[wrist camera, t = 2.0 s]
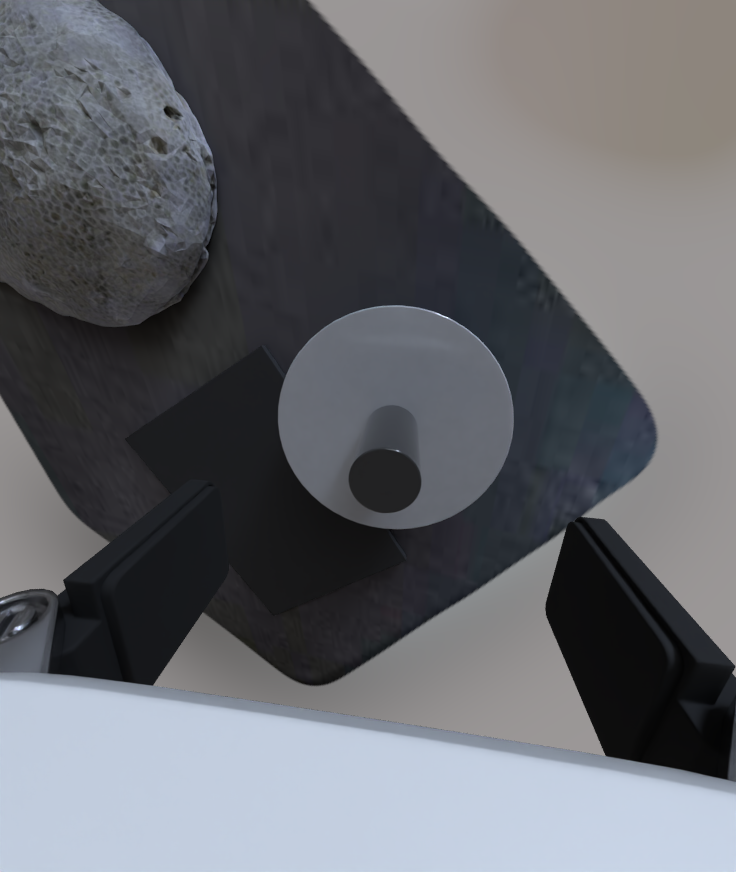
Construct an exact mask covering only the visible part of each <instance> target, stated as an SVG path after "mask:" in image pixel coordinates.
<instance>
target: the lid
mask: <svg viewBox="0 0 736 872" xmlns="http://www.w3.org/2000/svg"><path fill="white" fill-rule="evenodd" d="M278 426H279V435H280V439H281V443H282V447H283V450H284V453H285V455H286V458H287V461H288V463H289V465H290V466H291V468H292V470H293V472H294V474H295V475H296V477H297V478H298V479H299V481H300V482H301V484H302V485H303V486H304V487H305V488H306V489H307V490H308V491H309V493H310V494H311V495H312V496H313V497H315V498H316V499H317V500H318V501H319V502H320V503H322V504H323V505H324V506H326V507H327V508H329V509H330V510H332V511H333V512H335V513H337V514H339V515H341V516H343V517H344V518H347V519H349V520H352V521H354V522H357V523H360V524H364V525H367V526H371V527H377V528H384V529H409V528H417V527H422V526H427V525H430V524H434V523H437V522H440V521H442V520H445V519H447V518H449V517H452V516H453V515H455V514H457V513H459V512H460V511H462V510H464V509H465V508H467V507H468V506H469V505H470V504H472V503H473V502H474V501H476V500H477V499H478V498H479V497H480V496H481V495H482V494H483V493H484V492H485V491H486V490H487V489H488V487H489V486H490V485H491V483H492V482H493V481H494V480H495V478H496V476H497V475H498V473H499V471H500V470H501V468H502V466H503V464H504V461H505V459H506V457H507V454H508V451H509V448H510V444H511V440H512V434H513V426H514V412H513V403H512V397H511V392H510V389H509V386H508V383H507V380H506V377H505V375H504V373H503V371H502V369H501V367H500V365H499V363H498V362H497V360H496V359H495V357H494V356H493V354H492V353H491V352H490V350H489V349H488V348H487V347H486V346H485V345H484V344H483V343H482V341H481V340H480V339H479V338H478V337H476V336H475V335H474V334H473V333H471V332H470V331H469V330H468V329H467V328H465V327H464V326H462V325H460V324H459V323H457V322H455V321H454V320H452V319H450V318H448V317H446V316H443V315H441V314H438V313H436V312H433V311H430V310H426V309H422V308H418V307H410V306H402V305H394V306H379V307H373V308H367V309H363V310H360V311H357V312H354V313H351V314H348V315H346V316H344V317H342V318H340V319H338V320H335V321H334V322H332V323H331V324H329V325H328V326H326V327H325V328H323V329H322V330H320V331H319V332H318V333H317V334H316V335H315V336H314V337H312V338H311V339H310V340H309V341H308V342H307V343H306V345H305V346H304V347H303V348H302V349H301V350H300V352H299V353H298V355H297V356H296V358H295V359H294V361H293V362H292V364H291V366H290V368H289V370H288V372H287V374H286V377H285V379H284V382H283V386H282V389H281V392H280V398H279V405H278Z"/></svg>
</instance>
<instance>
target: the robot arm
mask: <svg viewBox="0 0 736 872" xmlns="http://www.w3.org/2000/svg"><path fill="white" fill-rule="evenodd" d="M228 569H229V562H228V553H227V544H226V535H225V526H224V517H223V508H222V499H221V491H220V489H219V488H218V487H215V484H214V483H213V482H212V481H204V480H192V479H191V480H189V481H187V482H186V483H185V484H184V485H182V486H181V487H180V488H179V489H177V490H176V491H175V492H174V493H172V494H171V495H170V496H169V497H167V498H166V499H165V500H164V501H162V502H161V503H160V504H158V505H157V506H156V507H155V508H153V509H152V510H151V511H150V512H148V513H147V514H146V515H145V516H143V517H142V518H141V519H140V520H138V521H137V522H136V523H135V524H133V525H132V526H131V527H129V528H128V529H127V530H126V531H124V532H123V533H122V534H121V535H119V536H118V537H117V538H116V539H114V540H113V541H112V542H111V543H109V544H108V545H107V546H106V547H104V548H103V549H102V550H101V551H99V552H98V553H97V554H95V556H93V557H92V558H90V559H89V560H88V561H87V562H85V563H84V564H83V565H82V566H80V567H79V568H78V569H77V570H75V571H74V572H73V573H72V574H70V575H69V576H68V577H67V578H65V579H64V580H63V581H64V584H65V587H66V589H65V590H64V591H63V592H62V593H60V594H59V595H58V596H57V595H56V594H55V593H54V592H53V591H50V590H45V589H30V590H26V591H21V592H16V593H14V594H11V595H8V596H5V597H2V598H0V872H736V677H735V676H734V675H733V674H732V672H733V670H734V668H735V665H734V664H733V663H732V662H731V661H730V660H729V659H728V658H727V656H726V655H725V654H724V653H723V652H722V651H721V650H720V649H719V647H718V646H717V645H716V644H715V643H714V642H713V641H712V640H711V639H710V637H709V636H708V635H707V634H706V633H705V632H704V630H702V628H701V627H700V626H699V625H698V624H697V623H696V621H695V620H694V619H693V618H692V617H691V616H690V615H689V614H688V612H687V611H686V610H685V609H684V608H683V607H682V606H681V605H680V604H679V602H678V601H677V600H676V599H675V598H674V597H673V596H672V594H671V593H670V592H669V591H668V590H667V589H666V588H665V587H664V585H663V584H662V583H661V582H660V581H659V580H658V579H657V578H656V576H655V575H654V574H653V573H652V572H651V571H650V570H649V569H648V567H647V566H646V565H645V564H644V563H643V562H642V561H641V559H639V557H638V556H637V555H636V554H635V553H634V552H633V550H632V549H631V548H630V547H629V546H628V545H627V544H626V543H625V541H624V540H623V539H622V538H621V537H620V536H619V535H618V534H617V533H616V531H615V530H614V529H613V528H612V527H611V526H610V525H609V523H608V522H607V521H605V520H604V519H595V518H585V517H578V518H577V519H576V520H575V522H570V523H569V524H568V526H567V528H566V532H565V536H564V539H563V543H562V547H561V550H560V554H559V557H558V561H557V565H556V568H555V572H554V576H553V579H552V583H551V586H550V590H549V594H548V597H547V601H546V608H545V609H546V616H547V619H548V621H549V624H550V626H551V628H552V631H553V633H554V636H555V638H556V640H557V643H558V645H559V647H560V650H561V652H562V654H563V657H564V659H565V661H566V664H567V666H568V668H569V671H570V673H571V675H572V678H573V680H574V682H575V685H576V687H577V690H578V692H579V694H580V696H581V699H582V701H583V704H584V706H585V708H586V711H587V713H588V715H589V718H590V720H591V722H592V725H593V727H594V729H595V732H596V734H597V736H598V739H599V741H600V744H601V746H602V748H603V751H604V753H605V755H606V756H601V755H595V754H590V753H585V752H579V751H573V750H566V749H560V748H554V747H548V746H542V745H535V744H529V743H522V742H517V741H510V740H504V739H497V738H491V737H485V736H479V735H472V734H467V733H460V732H454V731H448V730H442V729H435V728H428V727H422V726H416V725H410V724H403V723H397V722H390V721H384V720H377V719H370V718H365V717H358V716H352V715H345V714H338V713H332V712H325V711H319V710H312V709H306V708H298V707H292V706H285V705H280V704H272V703H266V702H259V701H253V700H246V699H239V698H233V697H226V696H219V695H212V694H205V693H198V692H192V691H185V690H178V689H172V688H165V687H158V686H153V684H154V683H155V681H156V680H157V679H158V677H159V676H160V674H161V673H162V671H163V670H164V668H165V667H166V665H167V664H168V662H169V661H170V659H171V658H172V656H173V655H174V654H175V652H176V651H177V649H178V647H179V646H180V645H181V643H182V642H183V640H184V639H185V637H186V636H187V634H188V633H189V631H190V630H191V628H192V627H193V626H194V624H195V622H196V621H197V620H198V618H199V617H200V615H201V614H202V612H203V611H204V609H205V608H206V606H207V605H208V604H209V602H210V601H211V599H212V598H213V596H214V595H215V593H216V592H217V590H218V589H219V587H220V586H221V584H222V583H223V581H224V580H225V578H226V576H227V574H228Z"/></svg>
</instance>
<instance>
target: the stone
mask: <svg viewBox="0 0 736 872" xmlns="http://www.w3.org/2000/svg"><path fill="white" fill-rule="evenodd" d="M216 217H217V180H216V174H215V168H214V165H213V156H212V153H211V150H210V147H208V144H207V142H206V140H205V138H204V135H203V133H202V130H201V128H200V126H199V123H198V121H197V119H196V118H195V116H194V115H193V113H192V112H191V110H190V108H189V106H188V104H187V102H186V101H185V99H184V98H183V97H182V96H181V95H180V94H179V93H177V92H176V91H175V89H174V86H173V83H172V80H171V79H170V77H169V75H168V74H167V72H166V70H165V69H164V67H163V65H162V64H161V62H160V60H159V59H158V57H157V56H156V54H155V53H154V51H153V50H152V48H151V47H150V45H149V44H148V42H147V41H146V40H144V39H143V38H142V37H140V36H139V34H138V33H137V31H136V30H135V29H134V28H133V27H132V26H131V25H130V24H128V23H127V22H126V21H124V20H123V19H122V18H121V17H119V16H118V15H116V14H114V13H112V12H110V11H109V10H107V9H106V8H105V7H103V6H102V5H101V4H100V3H99V2H98V1H97V0H0V282H5V283H7V284H9V285H10V286H11V287H13V288H14V289H15V290H16V291H17V292H18V293H20V294H21V295H23V296H24V297H26V298H27V299H29V300H30V301H35V302H39V303H41V304H43V305H45V306H46V307H48V308H50V309H51V310H53V311H55V312H56V313H58V314H60V315H61V316H72V317H75V318H77V319H79V320H83V321H86V322H89V323H93V324H96V325H99V326H106V327H120V326H129V325H137V324H140V323H141V322H143V321H144V320H146V319H147V318H149V317H150V316H152V315H155V314H157V313H159V312H161V311H163V310H164V309H166V308H168V307H169V306H171V305H173V304H175V303H177V302H179V301H181V299H182V297H183V296H184V294H186V293H187V292H188V290H189V287H190V285H191V284H192V283H193V282H194V280H195V279H196V278H197V276H198V275H199V274H200V272H201V271H202V270H203V268H204V267H205V265H206V263H207V261H208V251H207V250H206V248H205V247H206V246H207V245H208V243H209V240H210V238H211V234H212V230H213V228H214V226H215V223H216Z"/></svg>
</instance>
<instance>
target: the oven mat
mask: <svg viewBox="0 0 736 872" xmlns="http://www.w3.org/2000/svg"><path fill="white" fill-rule="evenodd" d="M285 377H286V376H285V374H284V373H283V371H282V370H281V368H280V367H279V365H278V364H277V362H276V361H275V359H274V358H273V356H272V355H271V353H270V352H269V350H268V349H267V347H266V346H265V345H263V346H261V347H259V348H258V349H256V350H255V351H253V352H252V353H250V354H249V355H247V356H246V357H244V358H243V359H241V360H240V361H239V362H237V363H236V364H234V365H233V366H231V367H230V368H228V369H227V370H225V371H224V372H222V373H221V374H220V375H218V376H217V377H215V378H214V379H212V380H211V381H209V382H208V383H206V384H205V385H203V386H202V387H200V388H199V389H198V390H196V391H195V392H193V393H192V394H190V395H189V396H187V397H186V398H184V399H183V400H181V401H180V402H179V403H177V404H176V405H174V406H173V407H171V408H170V409H168V410H167V411H165V412H164V413H162V414H161V415H159V416H158V417H157V418H155V419H154V420H152V421H151V422H149V423H148V424H146V425H145V426H143V427H142V428H140V429H139V430H138V431H136V432H135V433H133V434H132V435H130V436H129V437H127V438H126V439H125V440H126V441H127V442H128V443H129V444H130V446H131V447H132V448H133V449H134V450H135V452H136V453H137V454H138V455H139V456H140V458H141V459H142V460H143V461H144V462H145V464H146V465H147V466H148V467H149V468H150V469H151V471H152V472H153V473H154V474H155V475H156V477H157V478H158V479H159V480H160V481H161V483H162V484H163V485H164V486H165V487H166V488H167V490H168V491H169V492H170V493H171V494H172V493H174V492H175V491H176V490H177V489H179V488H180V487H181V486H182V485H184V484H185V483H186V482H187V481H189V480H191V479H192V480H204V481H212V482H213V483H214V484H215V487H218V488H219V489H220V491H221V499H222V508H223V517H224V526H225V535H226V544H227V553H228V562H229V563H230V565H231V566H232V567H233V568H234V569H235V570H236V572H237V573H238V574H239V575H240V576H241V578H242V579H243V580H244V581H245V582H246V584H247V585H248V586H249V587H250V588H251V589H252V591H253V592H254V593H255V594H256V595H257V597H258V598H259V599H260V600H261V601H262V603H263V604H264V605H265V606H266V607H267V609H268V610H269V611H270V612H271V613H272V614H273V616H274V615H277V614H279V613H282V612H284V611H286V610H289V609H291V608H294V607H296V606H298V605H301V604H303V603H305V602H308V601H310V600H313V599H315V598H317V597H320V596H322V595H325V594H327V593H329V592H332V591H334V590H337V589H339V588H341V587H344V586H346V585H349V584H351V583H353V582H356V581H358V580H361V579H363V578H365V577H368V576H370V575H373V574H375V573H377V572H380V571H382V570H384V569H387V568H389V567H392V566H394V565H396V564H399V563H401V562H404V561H406V554H405V553H404V551H403V550H402V548H401V547H400V545H399V544H398V543H397V541H396V540H395V538H394V537H393V535H392V534H391V532H390V531H389V529H384V528H377V527H371V526H367V525H364V524H360V523H357V522H354V521H352V520H349V519H347V518H344V517H343V516H341V515H339V514H337V513H335V512H333V511H332V510H330V509H329V508H327V507H326V506H324V505H323V504H322V503H320V502H319V501H318V500H317V499H316V498H315V497H313V496H312V495H311V494H310V493H309V491H308V490H307V489H306V488H305V487H304V486H303V485H302V484H301V482H300V481H299V479H298V478H297V477H296V475H295V474H294V472H293V470H292V468H291V466H290V465H289V463H288V461H287V458H286V455H285V453H284V450H283V447H282V443H281V439H280V435H279V426H278V405H279V398H280V392H281V389H282V386H283V382H284V379H285Z"/></svg>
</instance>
